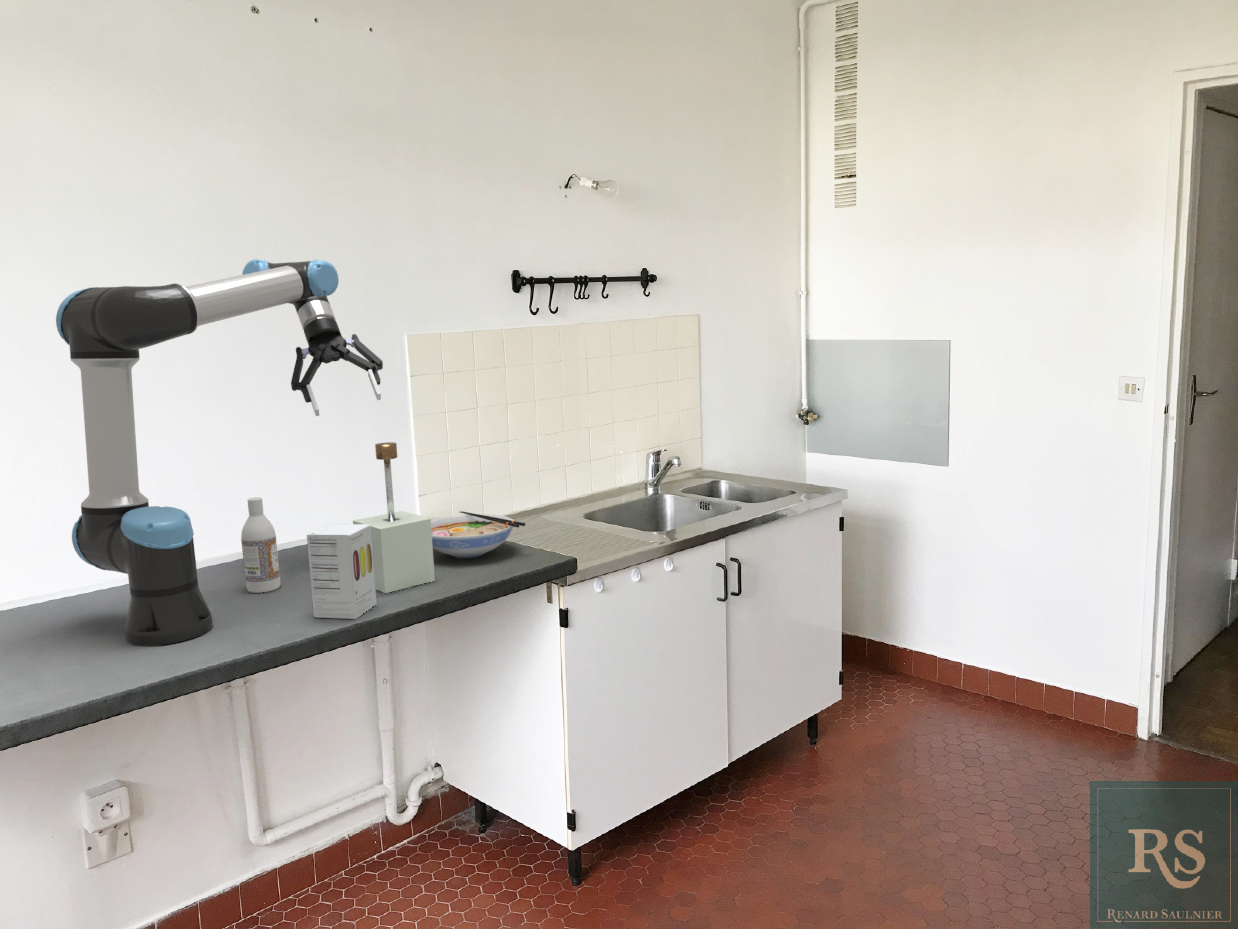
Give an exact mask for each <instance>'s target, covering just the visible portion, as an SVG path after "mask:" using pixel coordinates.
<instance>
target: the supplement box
mask: <svg viewBox="0 0 1238 929" xmlns="http://www.w3.org/2000/svg"><path fill="white" fill-rule="evenodd" d="M306 542H307V550H308V551H307V553H308V554H307V555H308V564H309V576H310V586H311V589H310V590H311V597H312V599H311V600H312V609H313V610H312V611H313V618H321V619H323V618H324V619H325V618H327V619H343V620H345V619H346V620H357V619H358V618H359V617H361V616H363V615H364V614H365V613H367V612H369V611H370V610H372V609H373V608H374V607H376V606H377V594H376V592H377V591H376V590H375V578H374V565H373V551H372V538H371V526H370V525H366V524H353V523H351V524H349V523H348V524H347V523H345V524H343V523H330V524H327V525H325V526H323V527H322V528H319V529H316V530H315V531H312V532H310V533H307V535H306ZM375 605H376V606H375ZM373 606H374V607H373ZM372 607H373V608H372ZM369 609H370V610H369ZM366 611H367V612H366ZM363 613H364V614H363Z"/></svg>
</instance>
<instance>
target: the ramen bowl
mask: <svg viewBox="0 0 1238 929" xmlns="http://www.w3.org/2000/svg"><path fill="white" fill-rule="evenodd" d="M459 513H460V514H457V515H453V516H445V517H444V516H443V517H440V518H436V519H431V532H432V546H433V550H436V551H438V552H440V553H442V554H444V555H449V556H451V557H452V556H453V557H454V558H457V559H472V558H473V559H474V558H478V557H481V556H483V555H484V554H486V553H489V552H490V551H493V550H494V549H497V548H498V547H499V546H501V545H502V544H503V543H504V542H505V541H506V540H507V538H508V537H509V535H510V534H511V532H512V530H513V528H520V526H521V527H525V526H526V522H521V521H516V520H514V519H513V518H511V517H508V516H507V515H506V516H505V515H497V514H490V513H489V514H485V513H473V512H467V511H464V510H463V511H462V510H461V511H459Z"/></svg>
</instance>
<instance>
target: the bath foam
mask: <svg viewBox="0 0 1238 929" xmlns="http://www.w3.org/2000/svg"><path fill="white" fill-rule="evenodd" d="M247 507H248V508H247V510H248V518H247V519H246V521H245V522H244V525H243V526H242V529H241V534H240V535H241V537H240V542H241V549H242V550H241V551H242V559H243V570H244V579H245V586H246V588H245V589H246V590H247V592H249V593H253V594H259V593H260V594H261V593H263V592H264V593H269V592H273V591H275V590H278V589H279V588H280V587H281V574H280V566H279V565H280V564H279V557H278V556H279V555H278V545H277V544H278V543H277V535H276V530H275V527H274V525H273V524H272V523H271V521H270V520H269V519H268V518H267V516H266V515H265V514H264V506H263V498H262V496H261V497H259V496H256V497H249V498H247ZM264 593H263V594H264Z"/></svg>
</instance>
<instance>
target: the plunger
mask: <svg viewBox="0 0 1238 929" xmlns="http://www.w3.org/2000/svg"><path fill="white" fill-rule="evenodd" d="M374 448H375V458H376V460H379V461H380V460H381V461H382V460H383V467H384V469H383V470H384V480H385V482H384V483H385V496H386V506H387V507H386V509H387V514H388V522H391V521H395V513H394V512H395V504H394V503H395V502H394V490H393V489H394V488H393V475H392V463H391V461H392V460H394V459H397V458H398V446H397V442H395V441H394V442H391V441H390V442H389V441H388V442H387V441H386V442H379V443H375V445H374Z"/></svg>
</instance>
